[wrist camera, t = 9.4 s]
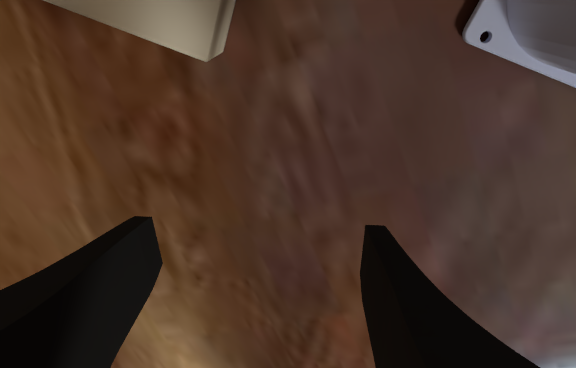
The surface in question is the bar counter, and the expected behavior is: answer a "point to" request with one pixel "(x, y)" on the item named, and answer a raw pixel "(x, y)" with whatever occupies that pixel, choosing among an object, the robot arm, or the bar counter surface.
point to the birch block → (164, 21)
